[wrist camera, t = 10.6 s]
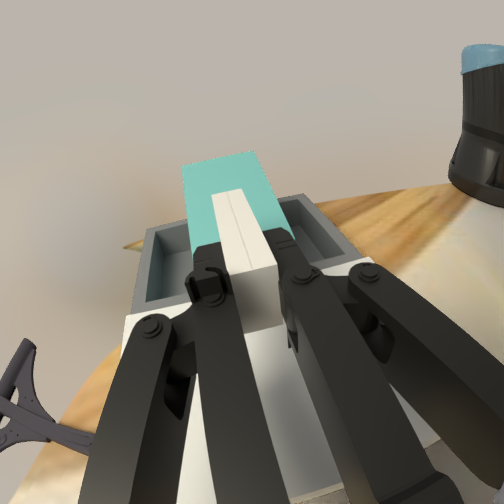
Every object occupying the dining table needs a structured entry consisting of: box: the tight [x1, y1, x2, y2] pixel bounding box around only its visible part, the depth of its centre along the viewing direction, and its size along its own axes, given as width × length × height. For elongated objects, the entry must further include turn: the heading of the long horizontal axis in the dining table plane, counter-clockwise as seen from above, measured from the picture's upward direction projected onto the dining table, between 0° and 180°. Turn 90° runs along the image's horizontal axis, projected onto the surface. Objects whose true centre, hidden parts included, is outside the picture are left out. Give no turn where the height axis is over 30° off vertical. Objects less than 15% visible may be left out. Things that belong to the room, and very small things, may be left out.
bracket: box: [0, 338, 95, 456], centre depth 13 cm, size 14×15×3 cm
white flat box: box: [120, 257, 441, 504], centre depth 13 cm, size 16×12×4 cm
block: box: [182, 151, 295, 258], centre depth 22 cm, size 6×6×10 cm
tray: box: [130, 194, 364, 315], centre depth 24 cm, size 16×12×4 cm
